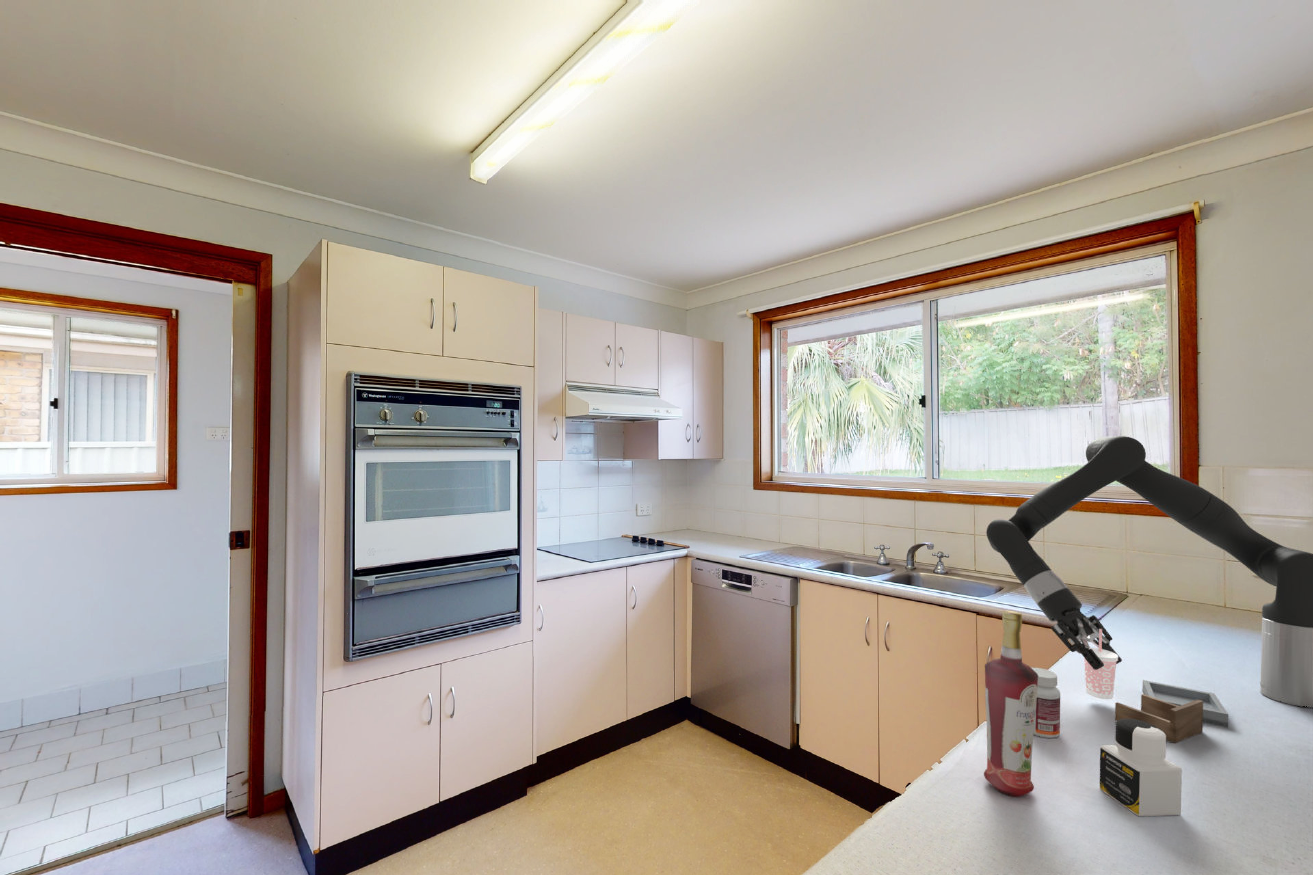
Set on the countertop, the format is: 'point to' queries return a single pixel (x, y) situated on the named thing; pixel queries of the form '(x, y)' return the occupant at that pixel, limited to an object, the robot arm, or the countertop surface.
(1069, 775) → the countertop surface
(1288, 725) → the countertop surface
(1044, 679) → the pill bottle
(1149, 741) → the medicine bottle
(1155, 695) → the grey tray
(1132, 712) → the walnut bay
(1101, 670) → the beverage cup
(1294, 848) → the countertop surface
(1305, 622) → the robot arm
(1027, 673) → the liquor
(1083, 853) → the countertop surface
